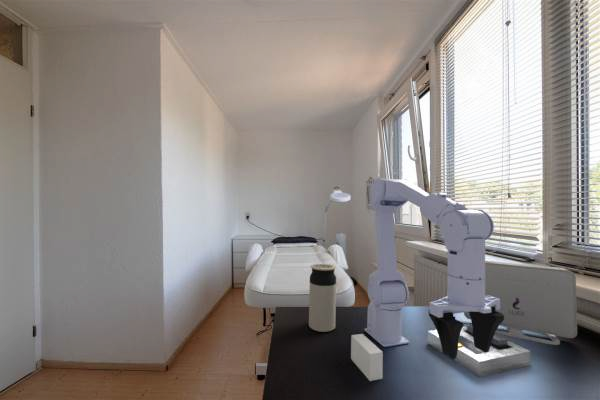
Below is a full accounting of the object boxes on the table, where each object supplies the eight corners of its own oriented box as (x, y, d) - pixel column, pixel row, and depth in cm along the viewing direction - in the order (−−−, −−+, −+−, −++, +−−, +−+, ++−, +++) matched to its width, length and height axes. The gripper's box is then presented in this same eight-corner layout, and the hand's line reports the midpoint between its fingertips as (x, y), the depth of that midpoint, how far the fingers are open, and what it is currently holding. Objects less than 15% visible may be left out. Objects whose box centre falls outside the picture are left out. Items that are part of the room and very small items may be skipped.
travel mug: (336, 333, 71) (337, 269, 72) (308, 332, 71) (310, 268, 72) (333, 321, 79) (334, 263, 79) (308, 320, 79) (309, 262, 80)
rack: (427, 343, 66) (427, 324, 67) (473, 335, 71) (472, 318, 71) (479, 377, 53) (479, 353, 53) (530, 365, 58) (530, 344, 58)
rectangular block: (351, 359, 59) (351, 335, 59) (362, 357, 60) (362, 333, 60) (369, 381, 51) (370, 354, 51) (382, 379, 52) (382, 352, 52)
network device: (464, 327, 77) (464, 261, 77) (461, 316, 84) (461, 257, 85) (582, 350, 65) (580, 272, 66) (566, 336, 72) (564, 266, 73)
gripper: (454, 285, 39) (454, 373, 39) (518, 279, 43) (519, 359, 43) (420, 273, 46) (420, 349, 45) (478, 269, 50) (479, 338, 50)
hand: (465, 352), depth 45 cm, fingers open, 7 cm apart
